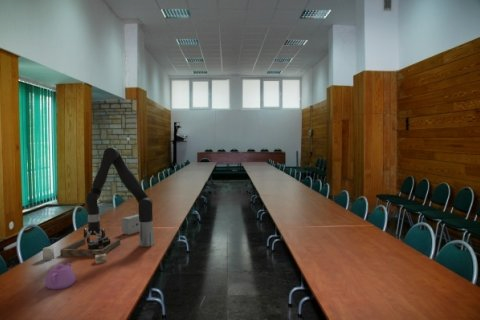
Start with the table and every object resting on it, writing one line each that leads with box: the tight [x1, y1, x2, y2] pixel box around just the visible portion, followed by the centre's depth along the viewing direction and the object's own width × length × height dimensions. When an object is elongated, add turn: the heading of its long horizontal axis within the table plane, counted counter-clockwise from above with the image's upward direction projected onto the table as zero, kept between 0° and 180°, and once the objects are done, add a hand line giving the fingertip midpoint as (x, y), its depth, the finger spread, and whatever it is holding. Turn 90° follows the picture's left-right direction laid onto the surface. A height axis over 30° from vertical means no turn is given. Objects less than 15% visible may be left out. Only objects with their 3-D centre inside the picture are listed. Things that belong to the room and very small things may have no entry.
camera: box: [87, 236, 112, 250], centre depth 226 cm, size 16×10×10 cm, turn 147°
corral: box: [60, 237, 122, 258], centre depth 229 cm, size 28×26×4 cm
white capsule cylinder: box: [42, 246, 55, 262], centre depth 212 cm, size 6×6×7 cm
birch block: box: [94, 254, 107, 264], centre depth 207 cm, size 6×4×4 cm, turn 118°
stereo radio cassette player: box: [121, 210, 139, 236], centre depth 274 cm, size 21×8×20 cm, turn 149°
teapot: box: [44, 262, 77, 291], centre depth 174 cm, size 14×20×11 cm
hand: (94, 243), depth 233 cm, fingers open, 8 cm apart
